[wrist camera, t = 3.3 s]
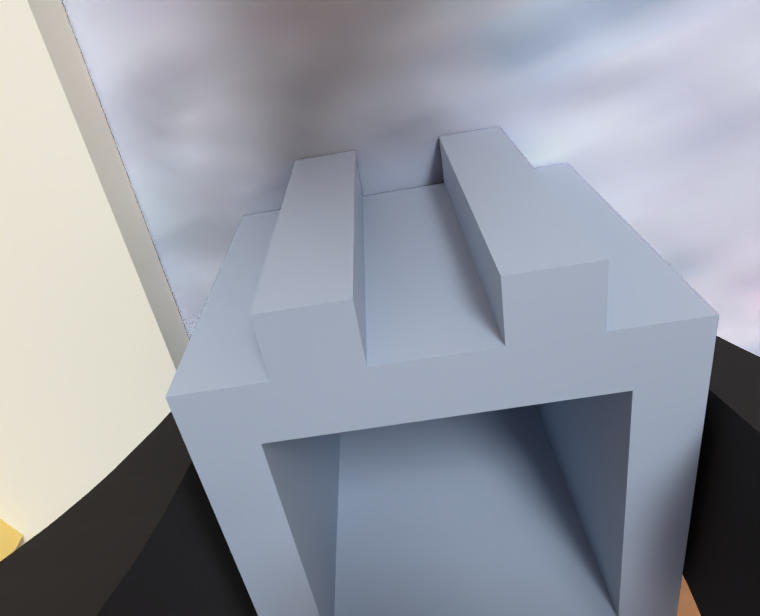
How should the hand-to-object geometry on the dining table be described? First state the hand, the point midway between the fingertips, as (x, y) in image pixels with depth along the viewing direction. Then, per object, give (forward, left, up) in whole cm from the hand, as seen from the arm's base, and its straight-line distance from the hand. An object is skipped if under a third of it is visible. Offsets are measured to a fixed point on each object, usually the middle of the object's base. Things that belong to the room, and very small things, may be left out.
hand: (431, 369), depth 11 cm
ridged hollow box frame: (0, 0, -1) cm, 1 cm away
